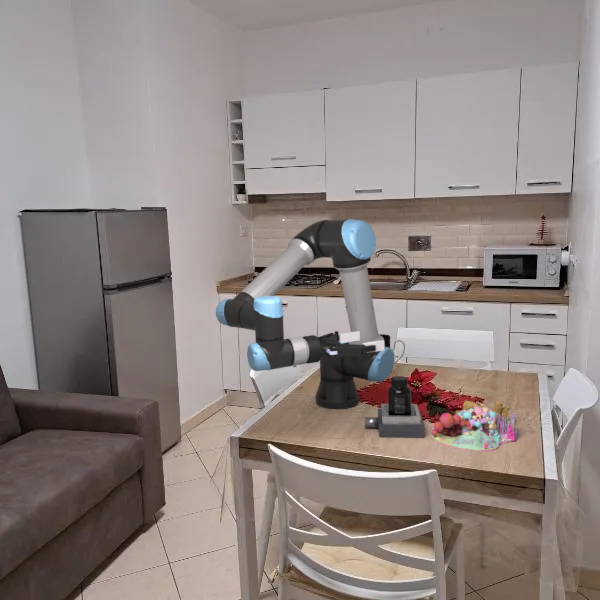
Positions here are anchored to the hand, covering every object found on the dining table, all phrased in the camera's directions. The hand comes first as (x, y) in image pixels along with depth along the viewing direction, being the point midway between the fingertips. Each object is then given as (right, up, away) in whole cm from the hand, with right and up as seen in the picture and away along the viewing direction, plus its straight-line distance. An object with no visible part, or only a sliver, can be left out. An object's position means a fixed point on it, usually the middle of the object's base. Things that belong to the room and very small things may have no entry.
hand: (371, 340), depth 160 cm
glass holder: (+16, -18, +69) cm, 73 cm away
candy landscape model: (+31, -28, +3) cm, 42 cm away
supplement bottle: (+10, -24, +8) cm, 27 cm away
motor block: (+8, -28, +9) cm, 30 cm away
